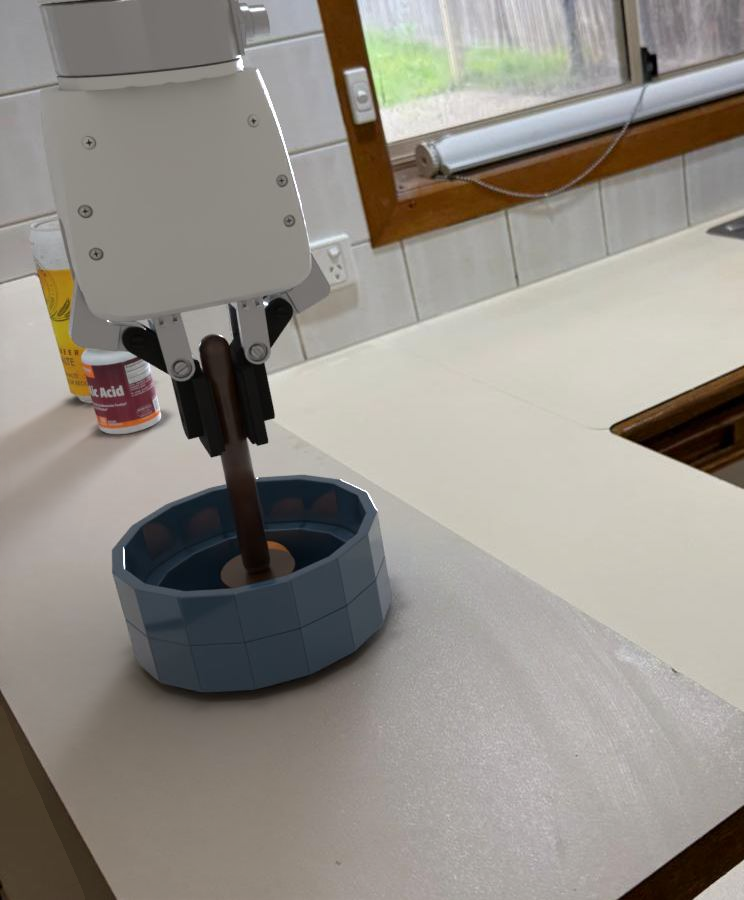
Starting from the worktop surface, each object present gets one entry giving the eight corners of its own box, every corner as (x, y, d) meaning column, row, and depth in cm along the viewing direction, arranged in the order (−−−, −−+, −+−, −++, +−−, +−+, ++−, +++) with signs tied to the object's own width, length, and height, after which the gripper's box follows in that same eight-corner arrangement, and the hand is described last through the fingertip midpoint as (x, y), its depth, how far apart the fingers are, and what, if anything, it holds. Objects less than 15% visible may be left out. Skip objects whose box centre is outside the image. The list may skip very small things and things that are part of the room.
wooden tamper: (211, 611, 60) (150, 344, 52) (257, 572, 63) (206, 315, 55) (271, 628, 58) (217, 356, 51) (315, 587, 61) (270, 325, 54)
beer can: (70, 390, 100) (23, 220, 94) (142, 375, 103) (101, 209, 97) (75, 410, 95) (26, 233, 89) (151, 394, 98) (108, 220, 92)
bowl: (98, 709, 56) (66, 604, 53) (189, 573, 68) (166, 482, 65) (365, 694, 55) (345, 587, 53) (409, 560, 67) (394, 468, 65)
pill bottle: (86, 433, 90) (58, 332, 87) (128, 411, 94) (103, 313, 91) (134, 437, 89) (108, 335, 85) (174, 414, 93) (151, 315, 89)
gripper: (302, 25, 55) (362, 384, 62) (-61, 60, 48) (54, 458, 55) (350, 27, 49) (410, 426, 56) (-58, 69, 42) (72, 514, 49)
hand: (233, 439), depth 56 cm, fingers closed on wooden tamper, 1 cm apart
